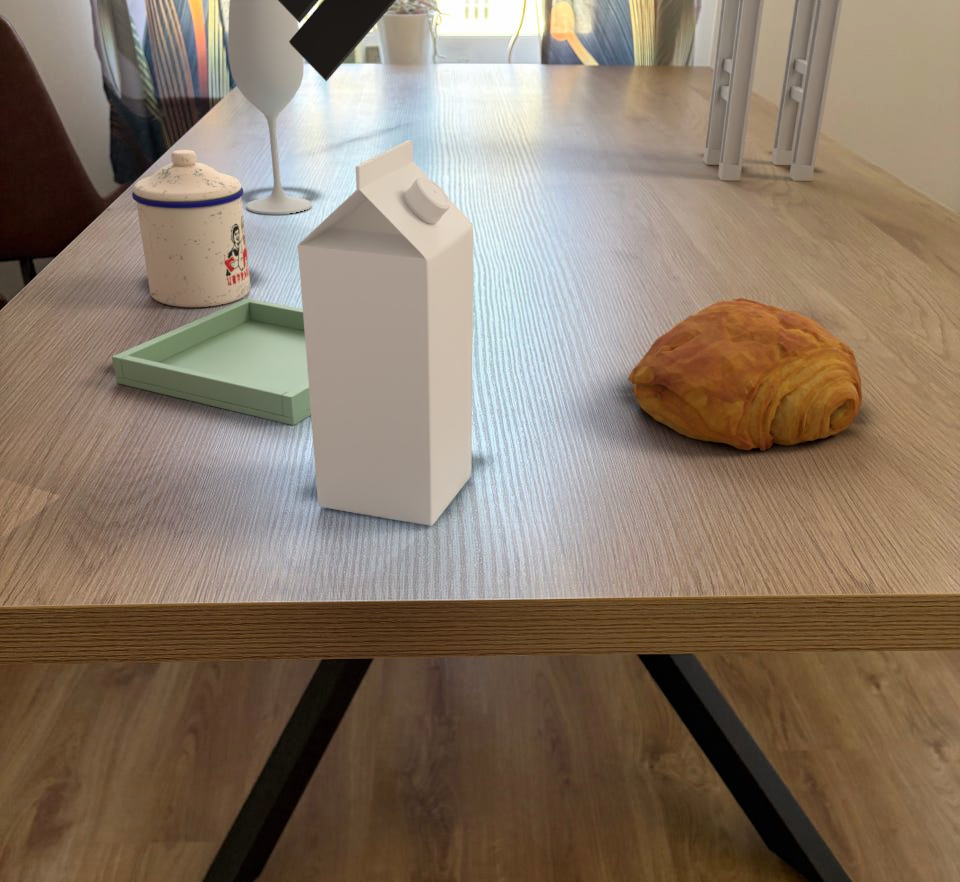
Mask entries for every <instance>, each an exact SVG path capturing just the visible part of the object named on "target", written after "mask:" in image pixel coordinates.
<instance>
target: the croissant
mask: <svg viewBox="0 0 960 882" xmlns="http://www.w3.org/2000/svg"><path fill="white" fill-rule="evenodd" d="M627 380H628V381H629V382H630V383H631V385H632V386H633V387H632V388H631V391H632V393H633V395H634V398H635V399H636V402H637V404H638V405H639V406H640V408H641V409H642V410H643V412H645V413H646V414H648V415H649V416H651V417H652V418H653V419H654V420H655V421H656V422H659V423H661V424H662V425H665V426H667V427H668V428H670V429H672V430H673V431H674V432H676V433H678V434H680V435H683V436H685V437H687V438H690V439H694V440H699V441H703V442H713V443H723V444H726V445H728V446H732V447H734V448H736V449H738V450H744V451H751V450H752V449H760V451H761V452H765V451H766V450H767V449H768V450H769V449H770V448H771V447H772V446H773V444H777V445H779V446H793V445H797V444H803V443H806V442H809V441H811V442H813V441H815V440H820V439H826V438H828V437H829V436H836V435H837V434H839V433H841V432H843V431H844V430H846V429H848V428H849V427H850V426H851V425H852V424H853V422H854V421H855V419H856V418H857V415H858V413H859V411H860V410H861V408H862V402H863V391H862V380H861V375H860V372H859V367H858V363H857V359H856V355H855V353H854V351H853V349H852V348H851V347H849V345H848V344H846V343H845V342H843V341H842V340H840V339H839V338H837V337H836V336H834V335H833V334H832V333H830V331H828V330H827V329H826V328H825V327H823V326H822V325H821V324H819V323H818V322H817V321H815V320H814V319H812V318H810V317H808V316H805V315H802V314H801V313H797V312H796V311H792V310H785V309H783V308H780V307H777V306H774V305H768V304H764V303H761V302H759V301H756V300H753V299H746V298H743V297H741V298H739V297H738V298H733V299H732V300H719V301H717V302H715V303H713V304H711V305H709V306H707V307H704V308H703V309H701V310H700V311H698V312H696V313H695V314H690V315H689V316H687V317H685V319H684V320H682V321H680V322H677V323H676V324H675V325H673V326H672V328H670V329H669V330H668V331H666V332H665V333H663V334H661V335H660V336H658V338H656V340H654V342H653V343H652V344H651V346H650V348H649V349H648V350H647V351H646V352H645V354H644V355H643V357H642V358H641V359H640V360H639V362H638V363H637V364H636V365H635V366H634V367H633V369H632V371H631V372H630V373H629V376H628V377H627Z"/></svg>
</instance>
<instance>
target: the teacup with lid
mask: <svg viewBox="0 0 960 882" xmlns="http://www.w3.org/2000/svg"><path fill="white" fill-rule="evenodd" d="M170 157H171V158H170V160H171V163H169V164H166V165H163V166H162V167H160V168H159V169H157V170H156V172H155V173H153V174H152V175H150V176H146V177H143V178H142V179H140V180H138V181H136V183H135V184H134V185H133V188H132V193H131V196H132V199H133V200H134V201H135V205H136V210H137V216H138V223H139V229H140V235H141V236H140V237H141V242H142V248H143V257H144V262H145V267H146V274H147V275H146V276H147V281H148V282H147V283H148V287H149V292H150V296H151V297H152V298H153V299H154V300H155V301H157V302H159V303H161V304H164V305H168V306H172V307H179V308H209V306H210V307H217V306H223V305H227V304H230V303H233V302H234V303H235V302H237V301H238V300H239V301H240V300H242V299H243V298H245V296H247V295H248V294H249V292H250V291H251V280H250V268H249V260H248V259H249V258H248V250H247V249H248V248H247V240H246V231H245V220H244V211H243V203H242V196H243V195H244V188H243V187H242V184H241V182H240V181H239V180H238V179H237V178H236V177H235V176H232V175H229V174H227V173H221V172H219V171H217V170H215V169H214V168H212V167H211V166H209V165H207V164H205V163H201V162H197V154H196V153H195V151H193V150H191V149H178V150H177V149H176V150H173V151H172V152H171V155H170ZM222 304H223V305H222Z"/></svg>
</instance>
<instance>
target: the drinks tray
mask: <svg viewBox="0 0 960 882" xmlns="http://www.w3.org/2000/svg"><path fill="white" fill-rule="evenodd" d="M111 359H112V364H113V370H114V377H115V381H116V384H119V385H123V386H127V387H132V388H136V389H140V390H143V391H148V392H152V393H156V394H161V395H165V396H170V397H174V398H177V399H182V400H186V401H190V402H193V403H197V404H198V403H199V404H203V405H207V406H210V407H216V408H219V409H224V410H227V411H232V412H237V413H240V414H245V415H249V416H253V417H258V418H262V419H265V420H270V421H273V422H278V423H283V424H287V425H290V426H295V425H297V424H298V423H300V422H302V421H304V420H306V419H307V418H309V417H311V408H310V395H309V383H308V370H307V357H306V344H305V331H304V318H303V308H301V307H295V306H291V305H285V304H279V303H274V302H269V301H264V300H259V299H253V298H249V297H246V298H244V299H240V300H239V301H236V302H234V303H232V304H230V305H227V306H226V307H223V308H221V309H219V310H216V311H214V312H212V313H209V314H207V315H205V316H203V317H200V318H198V319H195V320H193V321H190V322H189V323H187V324H184V325H182V326H179V327H177V328H175V329H173V330H170V331H168V332H166V333H163V334H161V335H159V336H156V337H154V338H152V339H150V340H146V341H145V342H142V343H141V344H138V345H136V346H134V347H131V348H129V349H127V350H124V351H122V352H119V353H118V354H115V355H113V356H112V357H111Z"/></svg>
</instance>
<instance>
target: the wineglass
mask: <svg viewBox="0 0 960 882" xmlns="http://www.w3.org/2000/svg"><path fill="white" fill-rule="evenodd" d="M227 28H228V31H227V32H228V60H229V68H230V73H231V77H232V79H233V81H234V83H235V85H236V88H237V89H238V90H239V91H240V93H241V94H242V95H243V97H244V98H245V99H246V100H247V101H248V102H249V103H251V104H252V105H253V106H254V107H255V108H256V109H257V110H258V111H259V112H261V113H262V114H263V115H264V118H265V119H266V121H267V125H268V131H269V143H270V154H271V165H272V177H273V188H272V191H271V193H270V195H268V196H267V197H263V198H262V197H261V198H257V199H253V200H251V201H248V202H247V203H246V205H245V206H246V210H247V211H250V212H252V213H254V214H261V215H275V216H277V215H291V214H290V213H293V214H297V213H296V212H299V213H301V212H300V211H303V212H305V211H304V210H306V211H308V210H310V209H311V208H312V207H313V203H312V202H311V201H310V200H308V199H306V198H301V197H295V196H290V195H287V194H286V192H285V190H284V188H283V186H282V182H281V173H280V172H281V171H280V160H279V148H278V137H277V120H278V117H279V116H280V115H279V114H280V113H282V111H283V110H284V109H285V108H286V107H287V106H288V104H289V103H290V102H291V101H292V100H293V99H294V97H295V96H296V94H297V93H298V91H299V89H300V87H301V85H302V83H303V77H304V67H305V66H304V65H305V64H304V63H305V62H304V58H303V57H302V56H301V55H300V54H299V53H298V52H297V51H296V50H295V48H294V47H293V46H292V45H291V44H290V42H289V41H290V40H291V38H292V37H293V36H294V35H295V34H296V33H297V31H298V30H299V29H300V26H299V22H298V21H297V20H296V19H295V18H294V17H293V16H292V15H291V14H290V12H289V11H288V10H287V9H286V8H285V7H284V6H283V5H282V4H281V3H280V2H279V1H278V0H229V5H228V27H227ZM311 206H312V207H311ZM310 207H311V208H310ZM309 208H310V209H309ZM307 209H308V210H307Z"/></svg>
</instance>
